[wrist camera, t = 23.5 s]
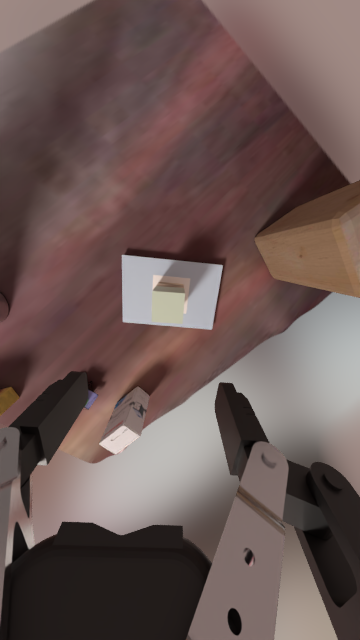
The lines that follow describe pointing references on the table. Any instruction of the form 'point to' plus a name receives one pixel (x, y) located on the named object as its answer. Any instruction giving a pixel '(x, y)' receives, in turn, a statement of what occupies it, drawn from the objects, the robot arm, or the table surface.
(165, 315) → the sage cap block
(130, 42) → the table surface
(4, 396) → the candy box
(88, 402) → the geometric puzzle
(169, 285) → the maple block
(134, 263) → the board
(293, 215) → the wooden block
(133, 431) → the ink box
